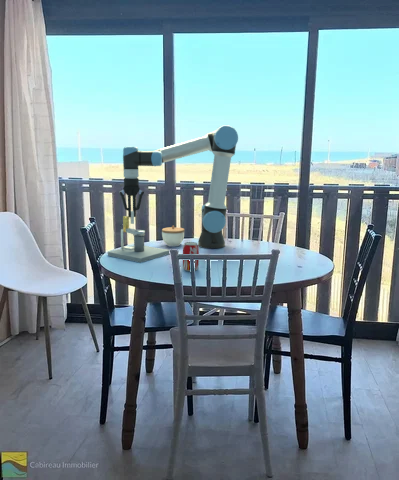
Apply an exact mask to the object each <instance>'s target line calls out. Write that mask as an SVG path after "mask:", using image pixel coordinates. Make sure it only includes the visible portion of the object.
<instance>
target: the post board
mask: <svg viewBox="0 0 399 480" xmlns="http://www.w3.org/2000/svg"><path fill="white" fill-rule="evenodd" d="M124 245H125V244H124V232H123V228H121V229H120V248H119V249H115V250H110V251H107V256H108V257H112V258H118V259H122V260H127V261H131V262H135V263H144V262H147V261H151V260H153V259H158V258H160V257H164V255H165V256H167V255H170V254H169V250H170V249H165V248H159V247H154V246H150V245H145V235H144V236H134V235H133V245H129V246H127V245H126V246H124Z"/></svg>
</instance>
